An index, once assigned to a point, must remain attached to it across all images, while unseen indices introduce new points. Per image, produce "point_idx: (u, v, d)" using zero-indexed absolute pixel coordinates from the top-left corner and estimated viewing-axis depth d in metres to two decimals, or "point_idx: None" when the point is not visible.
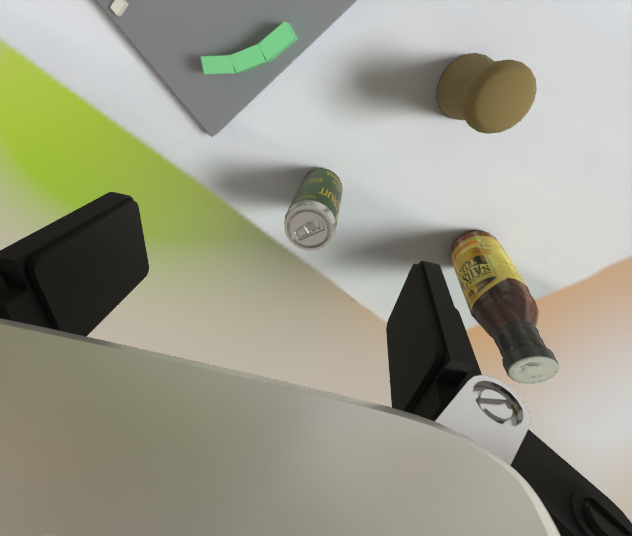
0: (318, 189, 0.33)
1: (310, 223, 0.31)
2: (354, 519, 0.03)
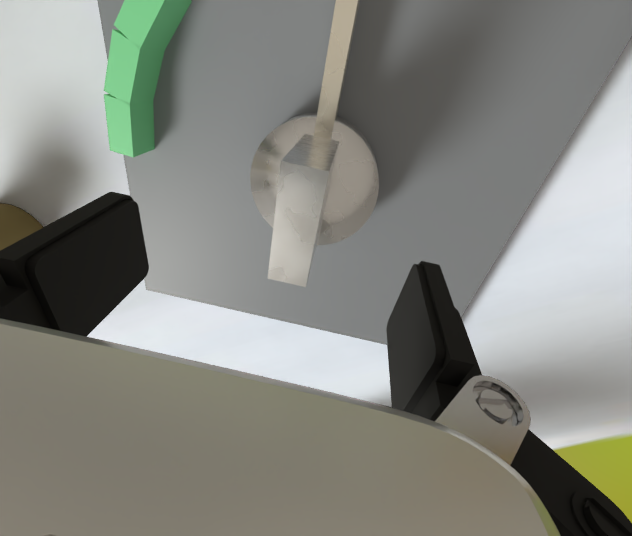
0: None
1: None
2: (354, 519, 0.03)
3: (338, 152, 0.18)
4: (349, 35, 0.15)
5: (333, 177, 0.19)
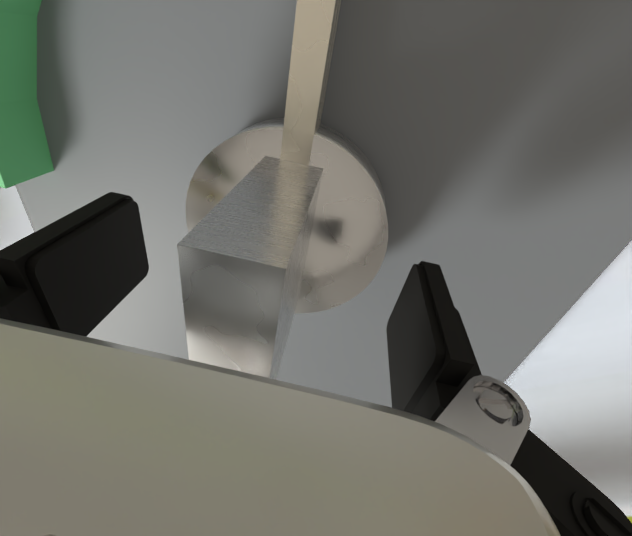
0: None
1: None
2: (354, 519, 0.03)
3: (322, 185, 0.11)
4: None
5: (315, 222, 0.12)
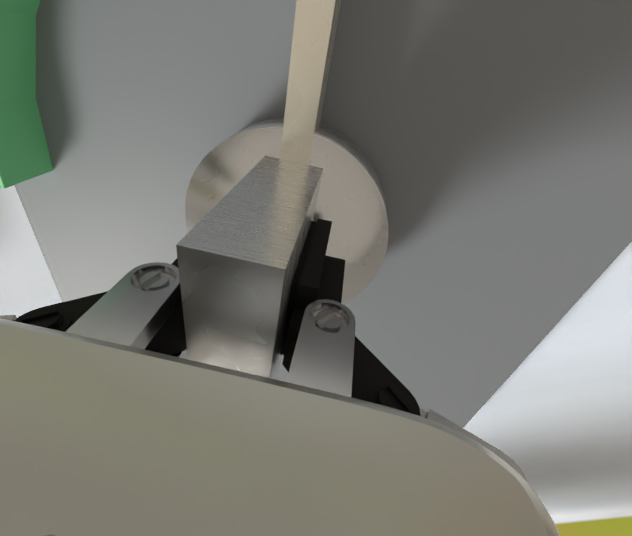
0: None
1: None
2: (354, 519, 0.03)
3: (322, 185, 0.11)
4: None
5: None
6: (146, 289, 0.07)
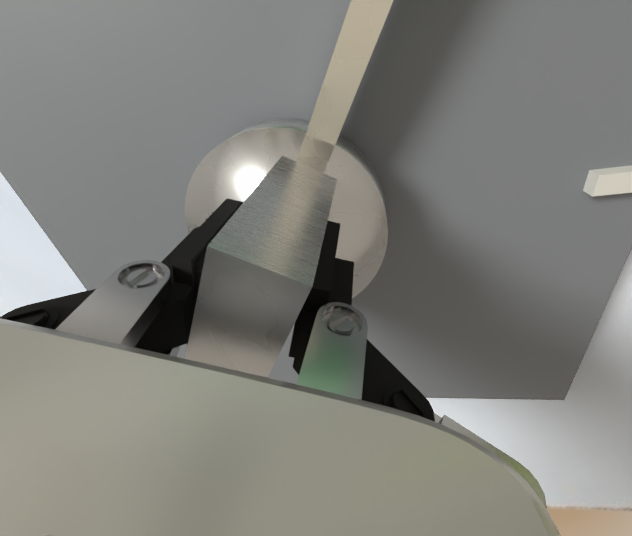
0: None
1: None
2: (354, 519, 0.03)
3: (332, 195, 0.11)
4: None
5: None
6: (134, 287, 0.07)
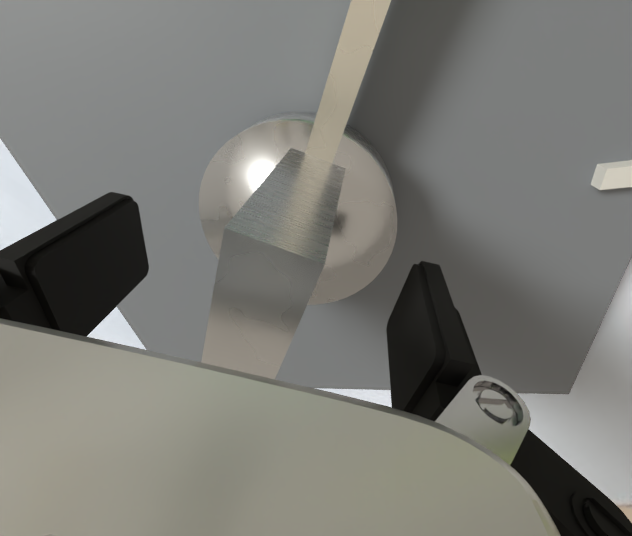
0: None
1: None
2: (354, 519, 0.03)
3: (341, 184, 0.11)
4: None
5: None
6: None
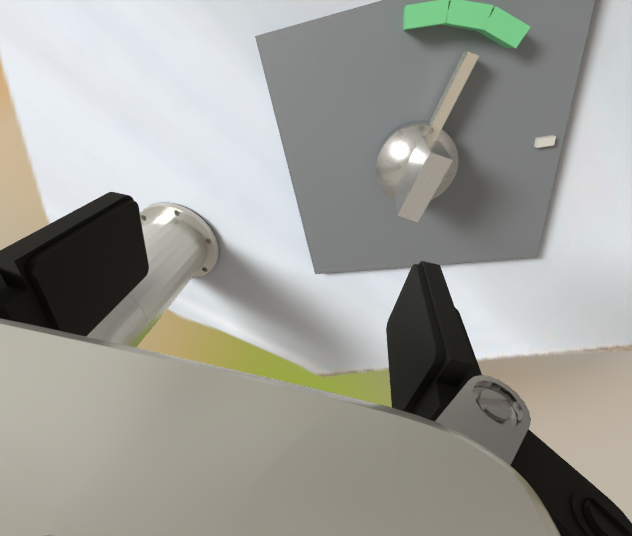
0: None
1: None
2: (354, 519, 0.03)
3: None
4: (463, 85, 0.27)
5: None
6: None
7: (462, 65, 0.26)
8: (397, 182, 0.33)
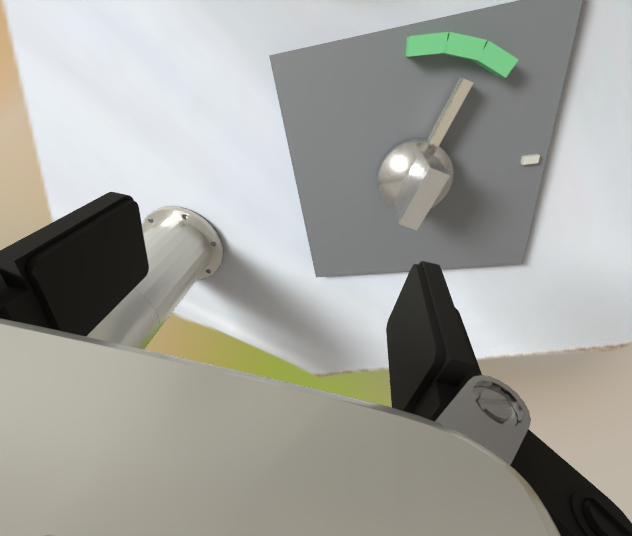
0: None
1: None
2: (354, 519, 0.03)
3: None
4: (458, 107, 0.30)
5: None
6: None
7: (459, 90, 0.29)
8: (397, 193, 0.35)
